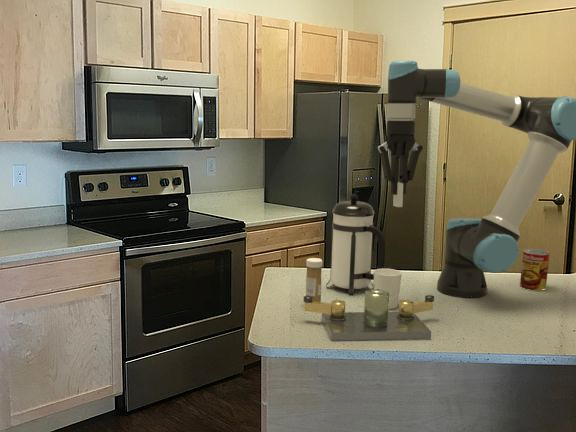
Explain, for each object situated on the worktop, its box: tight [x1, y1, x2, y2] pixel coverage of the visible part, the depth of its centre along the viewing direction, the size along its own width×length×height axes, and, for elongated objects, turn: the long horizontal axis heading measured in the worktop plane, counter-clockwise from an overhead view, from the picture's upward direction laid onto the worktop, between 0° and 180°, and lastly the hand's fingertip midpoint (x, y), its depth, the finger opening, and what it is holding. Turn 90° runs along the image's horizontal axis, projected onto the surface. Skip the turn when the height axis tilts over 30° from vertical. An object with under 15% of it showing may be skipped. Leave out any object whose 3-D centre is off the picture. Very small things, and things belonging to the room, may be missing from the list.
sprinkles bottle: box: [305, 257, 323, 302], centre depth 180 cm, size 5×5×14 cm
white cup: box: [373, 268, 403, 310], centre depth 181 cm, size 8×8×10 cm
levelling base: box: [321, 288, 432, 342], centre depth 162 cm, size 25×15×11 cm, turn 96°
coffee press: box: [325, 193, 386, 296], centre depth 195 cm, size 17×16×30 cm
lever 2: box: [398, 294, 435, 319], centre depth 168 cm, size 4×11×4 cm, turn 122°
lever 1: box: [303, 295, 346, 319], centre depth 165 cm, size 4×11×4 cm, turn 69°
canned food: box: [519, 248, 550, 291], centre depth 203 cm, size 8×8×12 cm
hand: (397, 206), depth 175 cm, fingers closed
